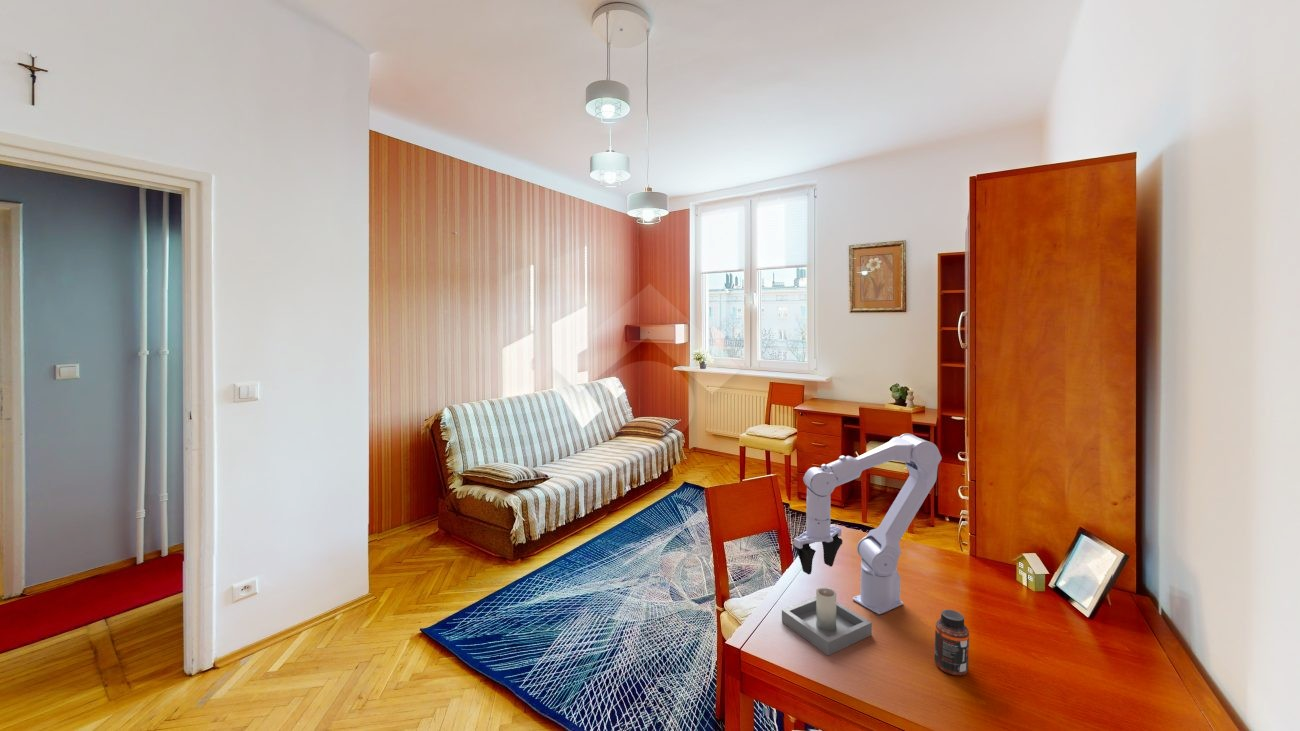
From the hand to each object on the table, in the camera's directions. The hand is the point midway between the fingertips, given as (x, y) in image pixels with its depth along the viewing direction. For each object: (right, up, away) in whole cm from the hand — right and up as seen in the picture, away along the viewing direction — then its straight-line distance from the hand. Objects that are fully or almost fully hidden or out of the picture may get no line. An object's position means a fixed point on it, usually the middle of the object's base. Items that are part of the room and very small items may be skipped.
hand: (817, 568), depth 124 cm
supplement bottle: (+20, -11, -23) cm, 32 cm away
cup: (-1, -9, -9) cm, 13 cm away
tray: (-1, -10, -9) cm, 14 cm away
